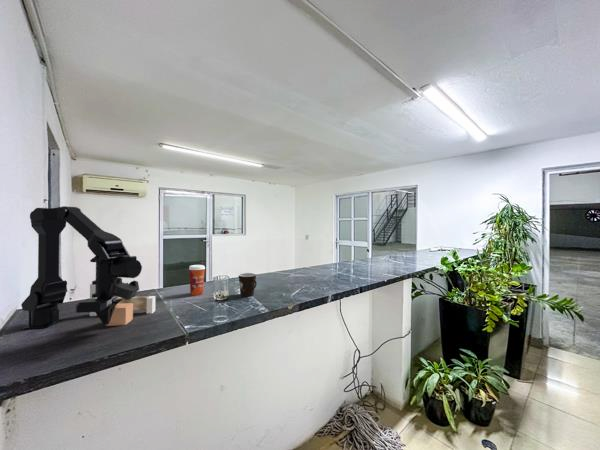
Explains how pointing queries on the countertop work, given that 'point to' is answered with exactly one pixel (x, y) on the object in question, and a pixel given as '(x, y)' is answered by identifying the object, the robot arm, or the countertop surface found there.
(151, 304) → the twin post hurdle
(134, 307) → the gate
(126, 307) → the doorstop block
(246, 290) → the coffee mug
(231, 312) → the countertop surface
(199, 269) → the paper cup
